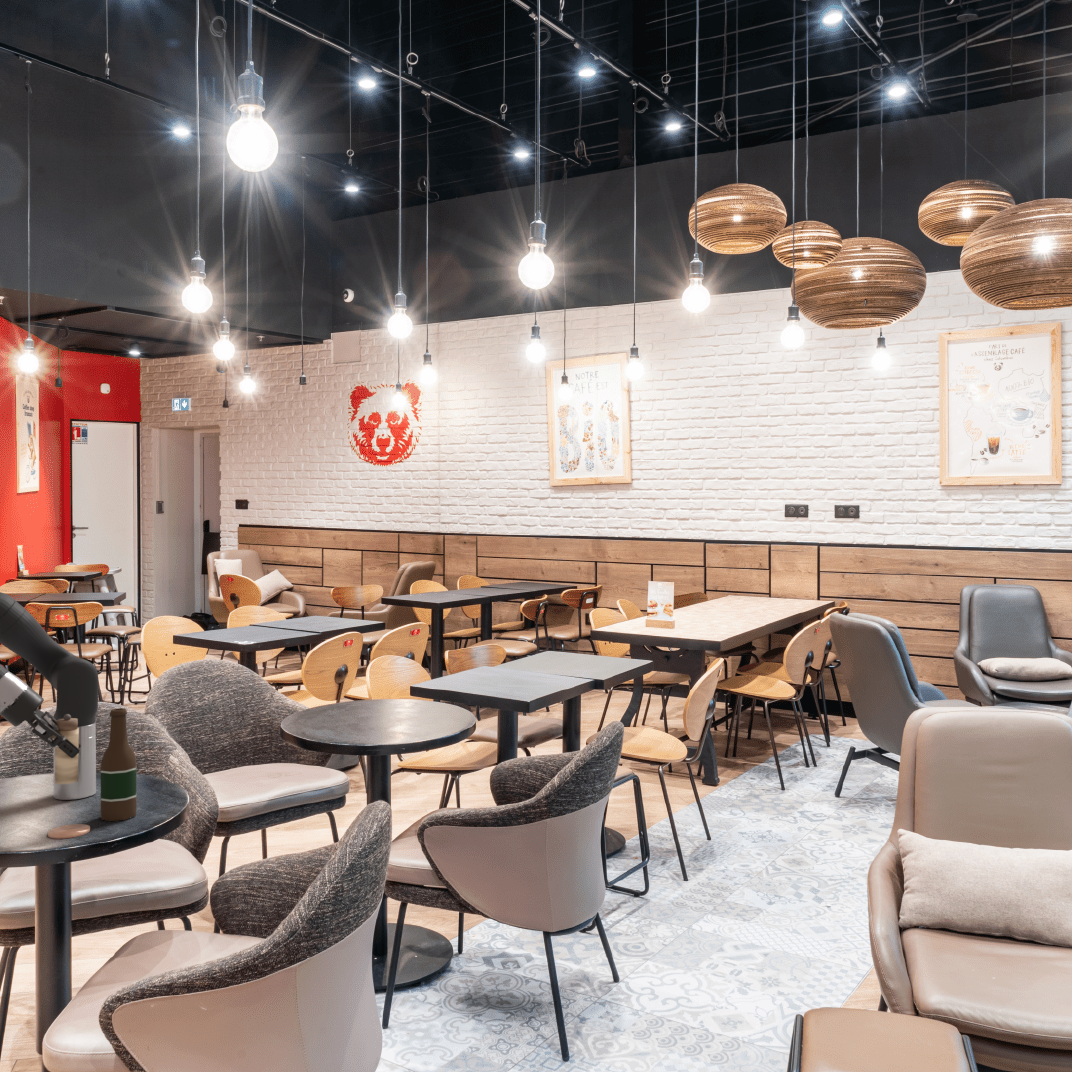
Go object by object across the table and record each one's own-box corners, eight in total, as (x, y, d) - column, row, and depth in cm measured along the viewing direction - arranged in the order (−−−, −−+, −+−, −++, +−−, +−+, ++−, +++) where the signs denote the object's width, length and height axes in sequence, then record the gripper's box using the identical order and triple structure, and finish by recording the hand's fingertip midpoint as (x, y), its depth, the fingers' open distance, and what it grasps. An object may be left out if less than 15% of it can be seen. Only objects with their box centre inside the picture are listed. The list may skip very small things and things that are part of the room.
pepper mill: (60, 778, 202) (61, 712, 202) (81, 778, 202) (82, 712, 203) (50, 784, 198) (51, 716, 198) (72, 784, 198) (73, 716, 198)
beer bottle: (128, 822, 207) (127, 712, 208) (93, 822, 208) (92, 712, 208) (143, 811, 215) (143, 706, 215) (109, 811, 215) (109, 706, 215)
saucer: (58, 827, 204) (58, 824, 204) (96, 826, 204) (96, 823, 204) (40, 839, 196) (40, 836, 196) (80, 838, 196) (80, 835, 196)
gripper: (2, 706, 202) (65, 758, 206) (-7, 718, 189) (60, 773, 193) (30, 680, 204) (92, 732, 209) (23, 690, 191) (89, 745, 195)
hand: (76, 751), depth 201 cm, fingers closed on pepper mill, 4 cm apart
